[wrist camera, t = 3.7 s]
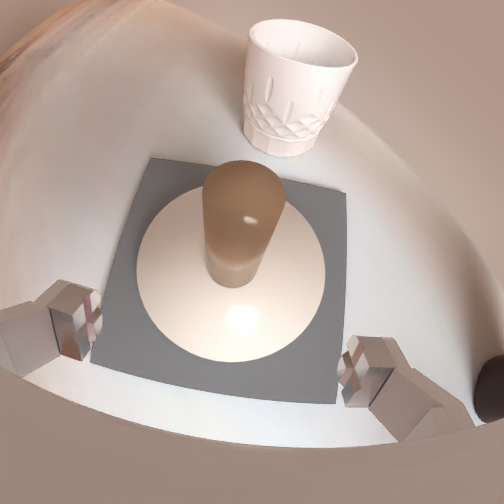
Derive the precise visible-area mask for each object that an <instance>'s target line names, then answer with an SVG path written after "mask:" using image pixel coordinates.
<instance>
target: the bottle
mask: <svg viewBox="0 0 504 504" xmlns="http://www.w3.org/2000/svg"><path fill="white" fill-rule="evenodd" d="M475 407H476V411H477V414H478V417H479V418H480V419H481V421H482V422H485V423H490V422H493V421H496V420H499V419H502V418H504V355H499V356H495V357H493V358H492V359H490V360H489V361H488V362H487V363H486V364H485V366H484V367H483V369H482V371H481V373H480V375H479V378H478V382H477V385H476V392H475Z"/></svg>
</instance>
